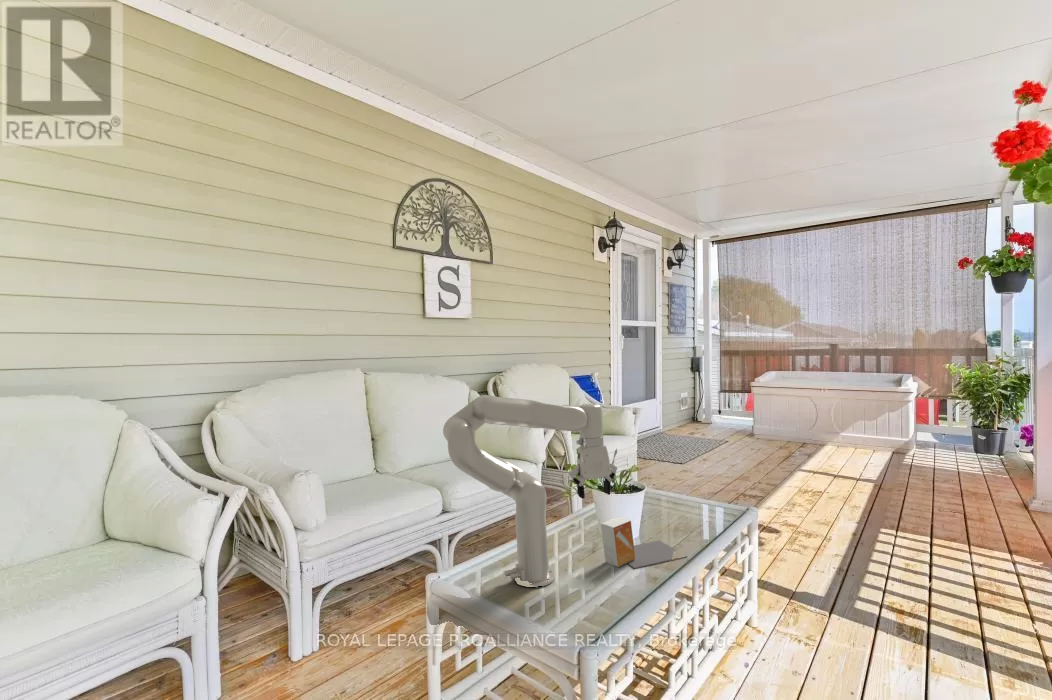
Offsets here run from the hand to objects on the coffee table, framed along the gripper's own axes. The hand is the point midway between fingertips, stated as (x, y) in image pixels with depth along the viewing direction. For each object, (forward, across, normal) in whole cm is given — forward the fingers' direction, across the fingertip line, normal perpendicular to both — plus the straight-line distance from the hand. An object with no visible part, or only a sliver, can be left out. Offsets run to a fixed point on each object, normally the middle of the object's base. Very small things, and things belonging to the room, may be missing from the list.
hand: (594, 495), depth 165 cm
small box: (+23, +8, 0) cm, 24 cm away
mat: (+23, +19, +1) cm, 30 cm away
